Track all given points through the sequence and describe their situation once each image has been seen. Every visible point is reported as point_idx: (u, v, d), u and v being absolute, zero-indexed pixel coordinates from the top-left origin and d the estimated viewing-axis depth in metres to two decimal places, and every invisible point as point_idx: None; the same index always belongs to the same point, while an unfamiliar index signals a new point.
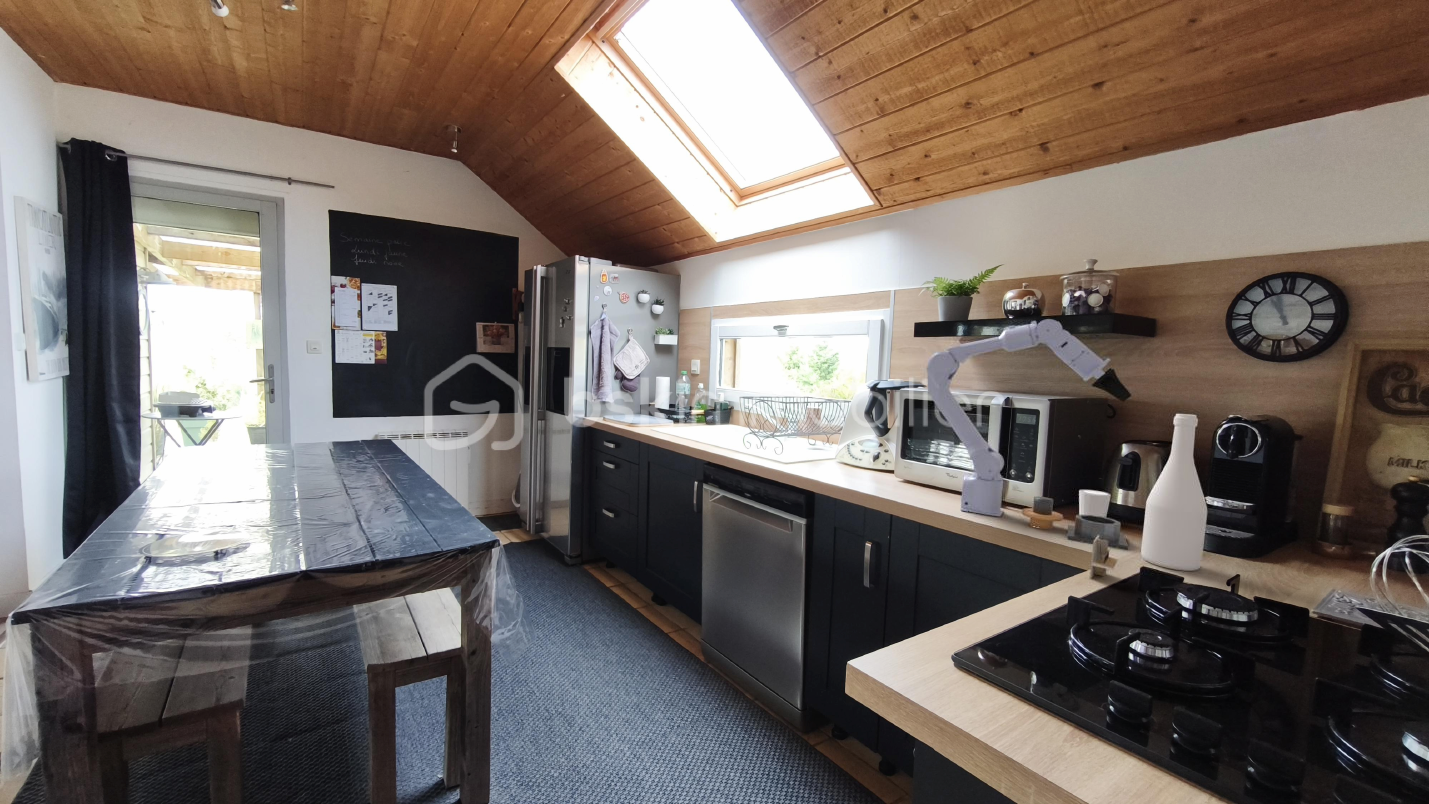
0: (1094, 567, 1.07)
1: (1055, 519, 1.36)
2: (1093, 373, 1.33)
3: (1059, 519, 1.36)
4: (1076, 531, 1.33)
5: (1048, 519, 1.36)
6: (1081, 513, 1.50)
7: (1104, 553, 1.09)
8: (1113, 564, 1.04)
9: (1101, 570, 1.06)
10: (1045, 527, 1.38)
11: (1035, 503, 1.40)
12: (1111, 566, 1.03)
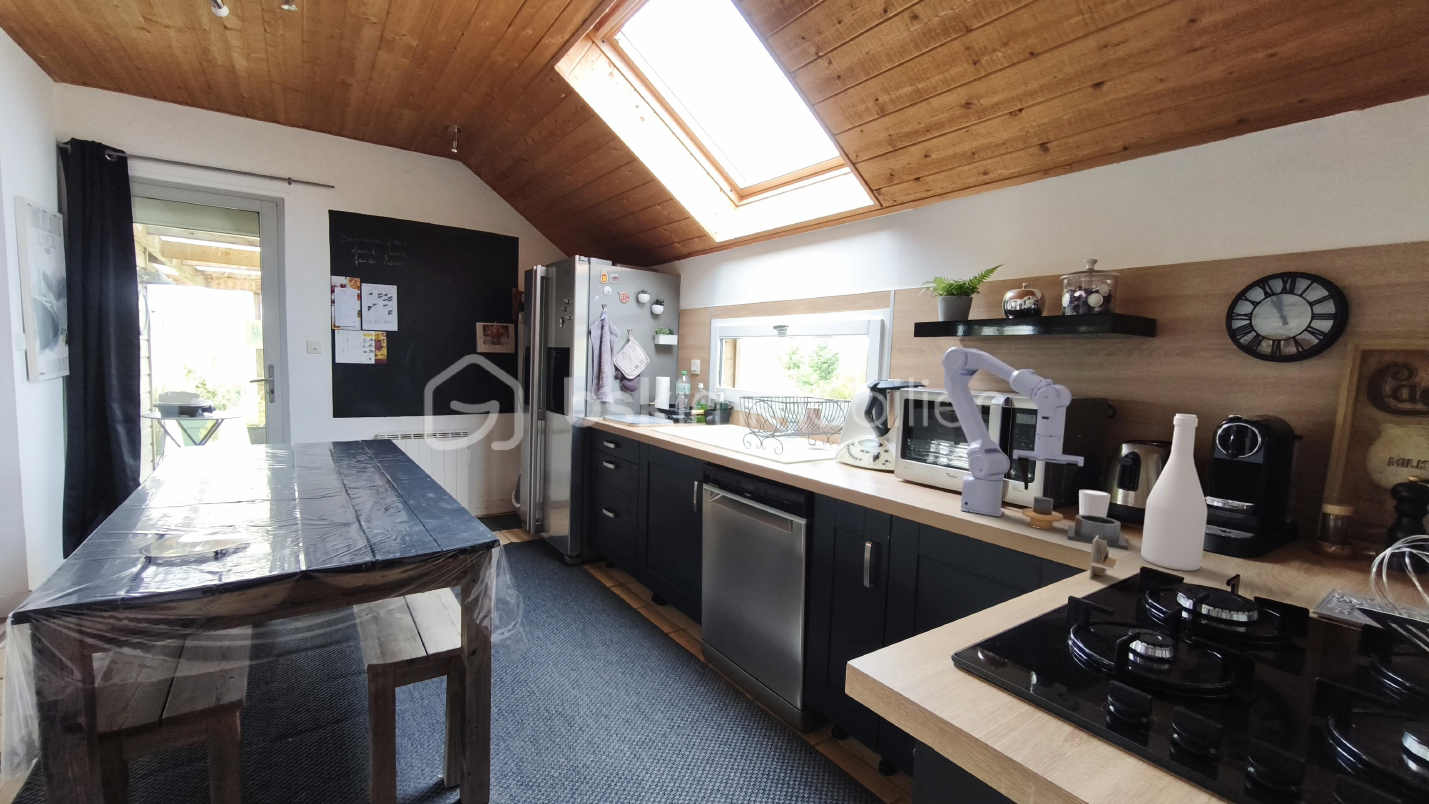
0: (1093, 567, 1.07)
1: (1055, 519, 1.36)
2: (1014, 451, 1.43)
3: (1059, 519, 1.36)
4: (1076, 531, 1.33)
5: (1048, 519, 1.36)
6: (1081, 513, 1.50)
7: (1103, 553, 1.09)
8: (1112, 564, 1.04)
9: (1100, 570, 1.06)
10: (1045, 527, 1.38)
11: (1035, 503, 1.40)
12: (1110, 566, 1.03)
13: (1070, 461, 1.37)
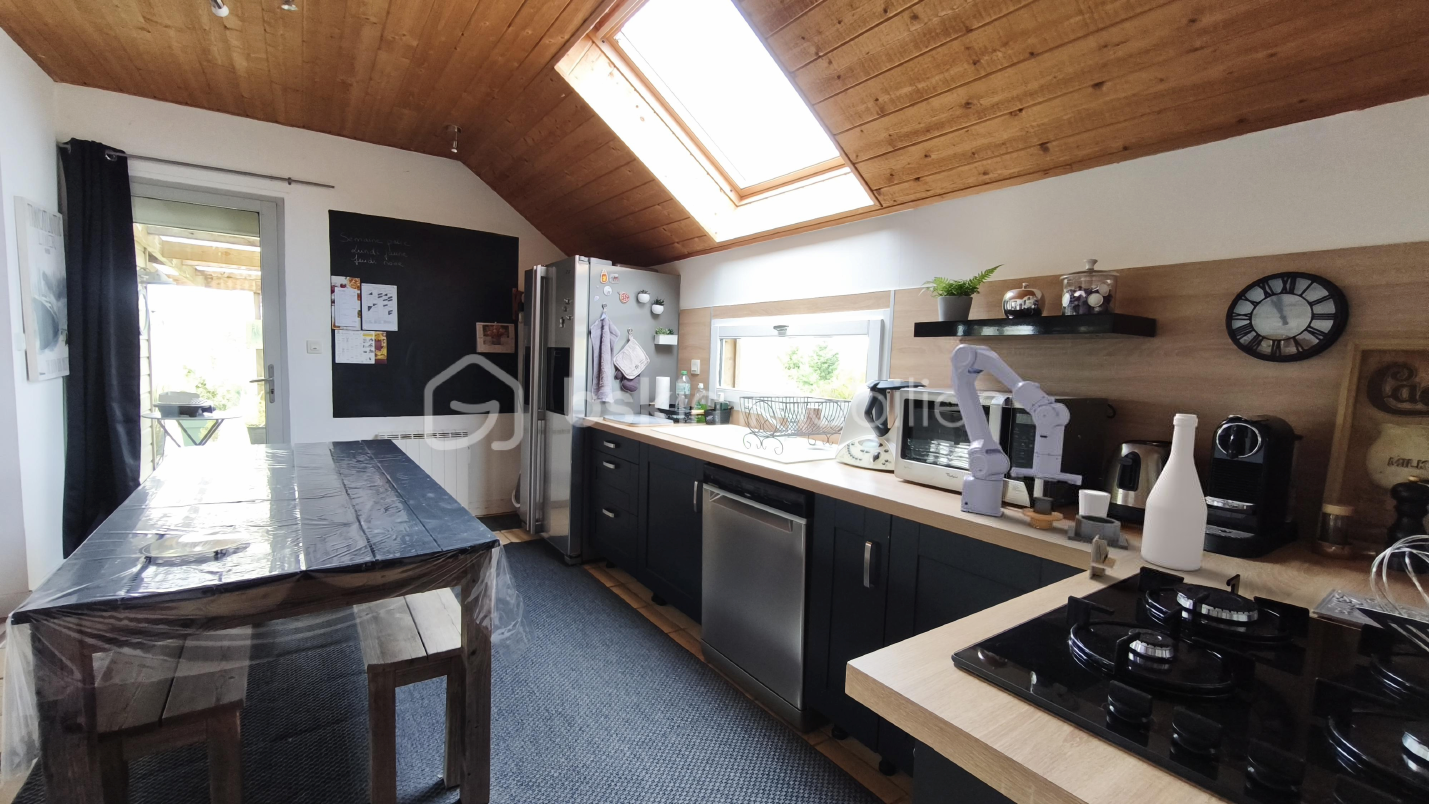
0: (1093, 567, 1.07)
1: (1055, 519, 1.36)
2: None
3: (1059, 519, 1.36)
4: (1076, 531, 1.33)
5: (1048, 519, 1.36)
6: (1081, 513, 1.50)
7: (1103, 553, 1.09)
8: (1112, 564, 1.04)
9: (1100, 570, 1.06)
10: (1045, 527, 1.38)
11: (1035, 503, 1.40)
12: (1110, 566, 1.03)
13: (1068, 480, 1.37)
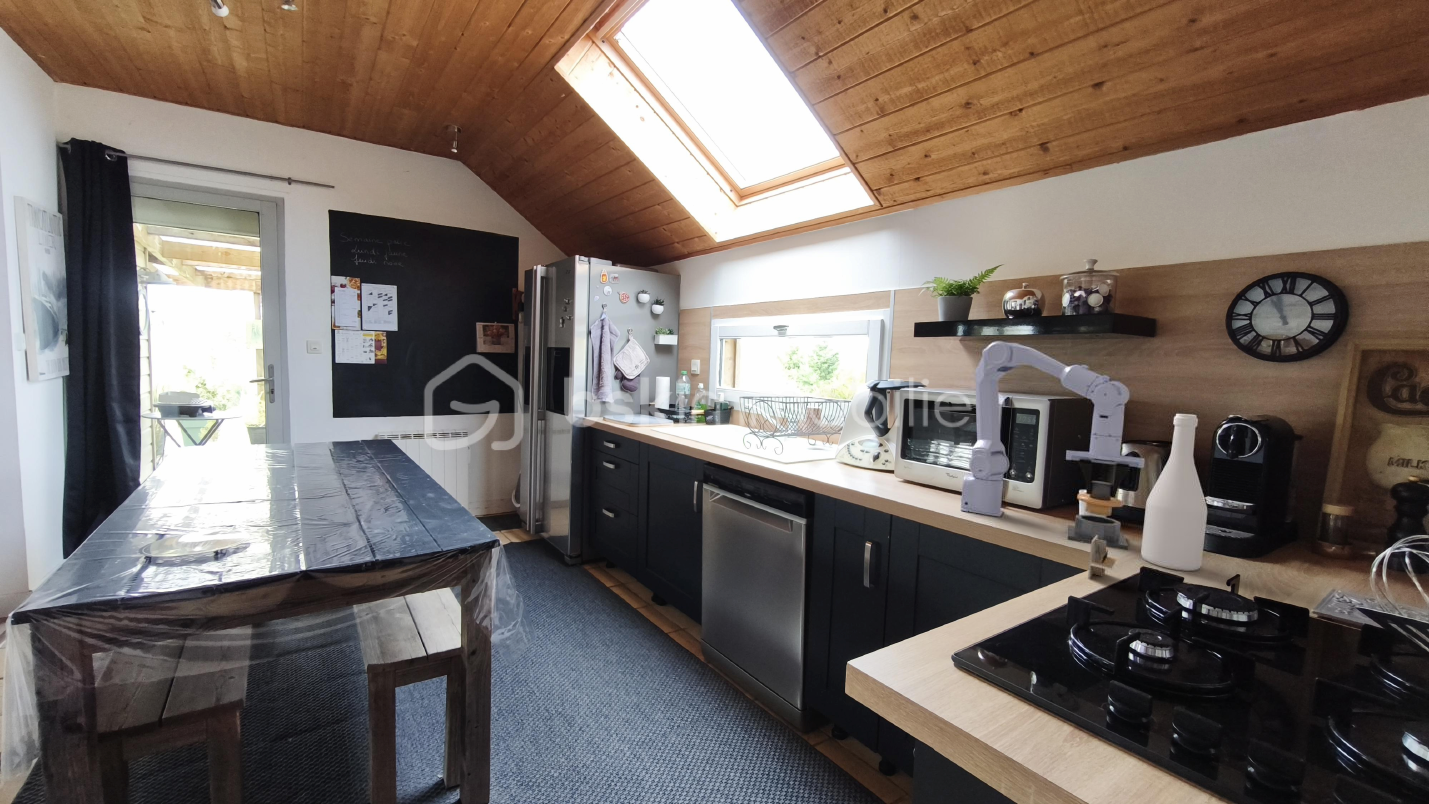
0: (1092, 567, 1.07)
1: (1116, 505, 1.27)
2: None
3: (1120, 505, 1.28)
4: (1076, 531, 1.33)
5: (1108, 505, 1.27)
6: (1081, 513, 1.50)
7: (1103, 553, 1.08)
8: (1111, 564, 1.04)
9: (1099, 570, 1.06)
10: (1104, 513, 1.29)
11: (1093, 488, 1.31)
12: (1109, 566, 1.03)
13: (1129, 463, 1.28)
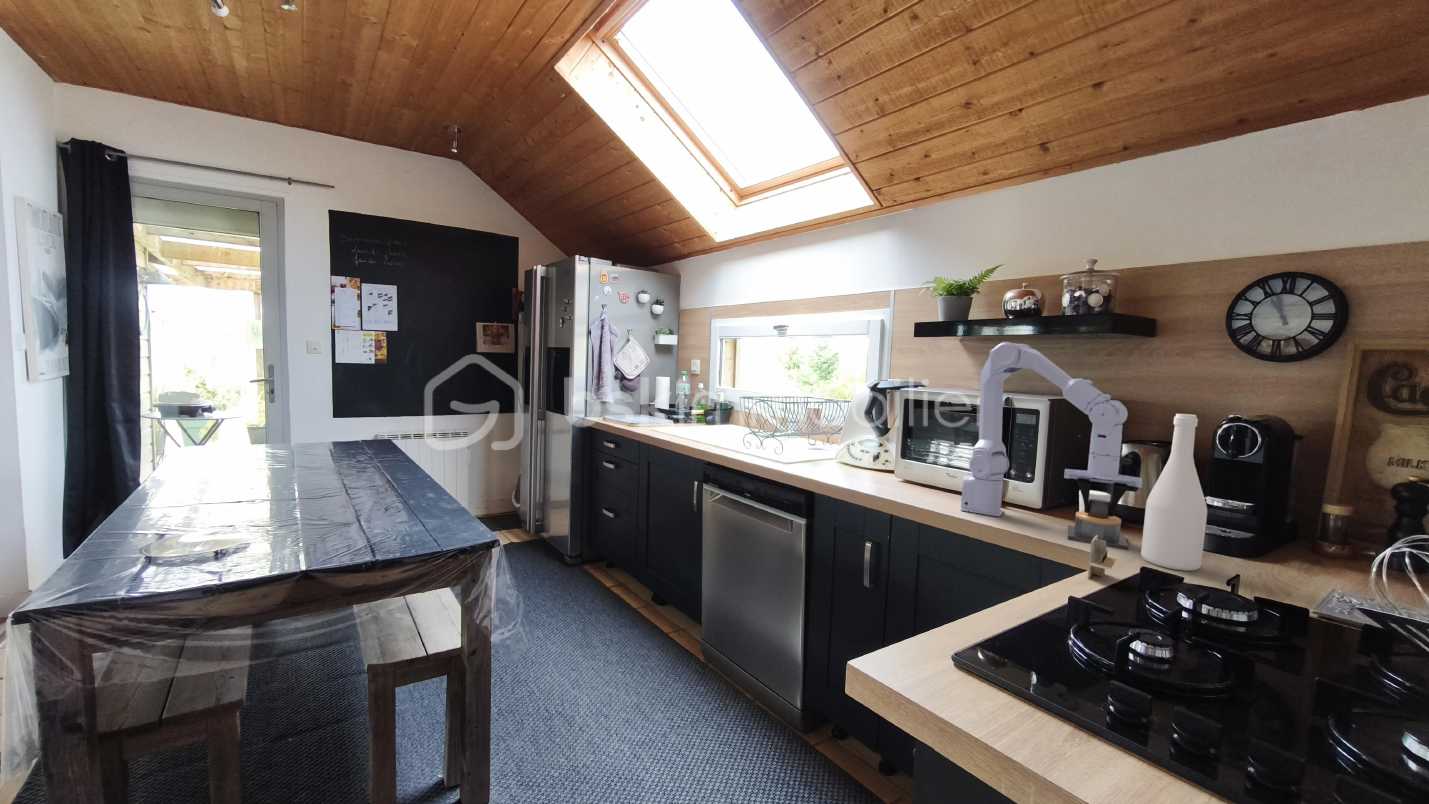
0: (1092, 567, 1.07)
1: (1114, 523, 1.28)
2: None
3: (1118, 523, 1.28)
4: (1076, 531, 1.33)
5: (1106, 523, 1.28)
6: None
7: (1102, 553, 1.08)
8: (1111, 564, 1.04)
9: (1099, 570, 1.06)
10: None
11: (1091, 506, 1.31)
12: (1109, 566, 1.03)
13: (1127, 482, 1.29)
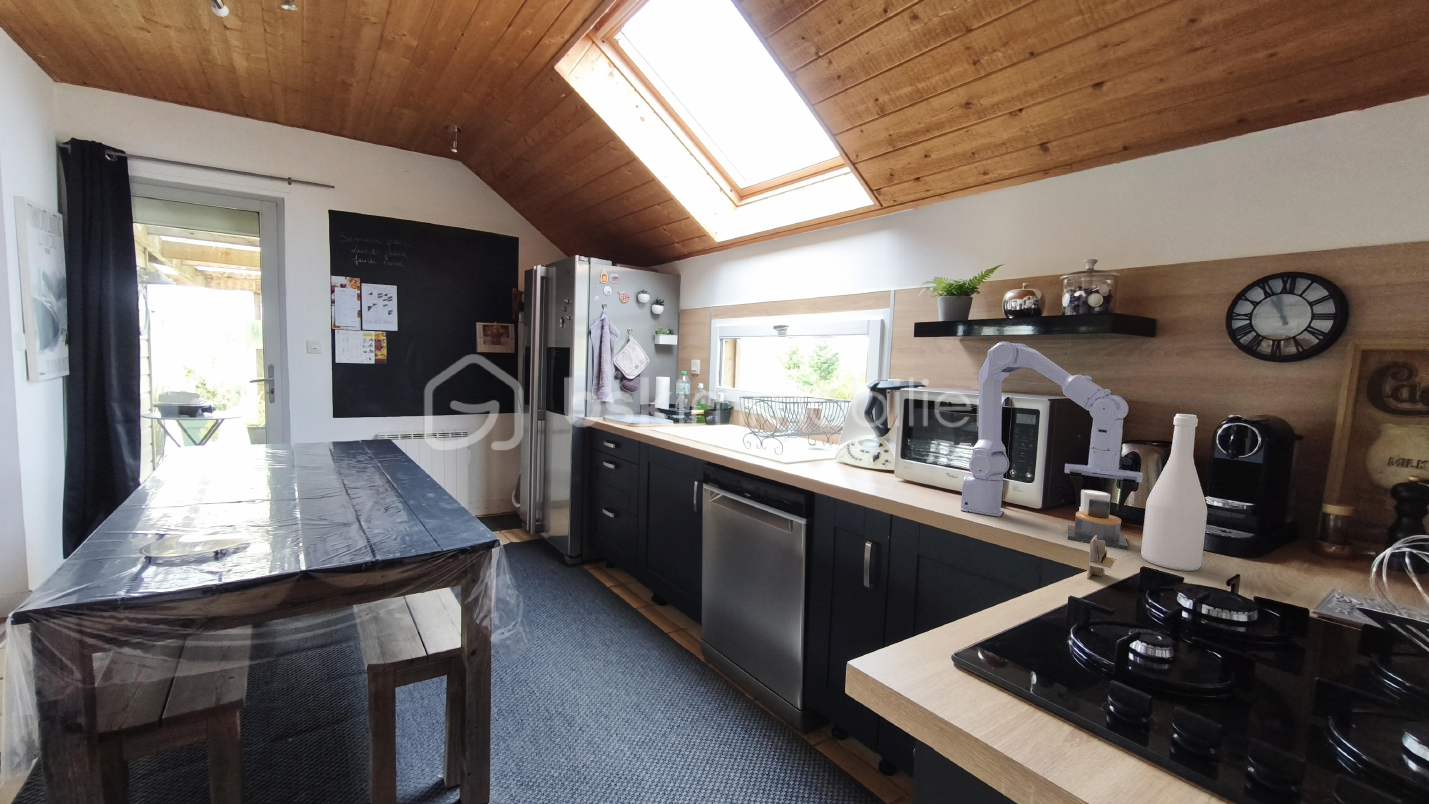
0: (1092, 567, 1.07)
1: (1114, 523, 1.28)
2: None
3: (1118, 523, 1.28)
4: (1076, 531, 1.33)
5: (1106, 523, 1.28)
6: None
7: (1102, 553, 1.08)
8: (1110, 564, 1.04)
9: (1099, 570, 1.06)
10: None
11: (1091, 506, 1.31)
12: (1108, 566, 1.03)
13: (1127, 477, 1.29)
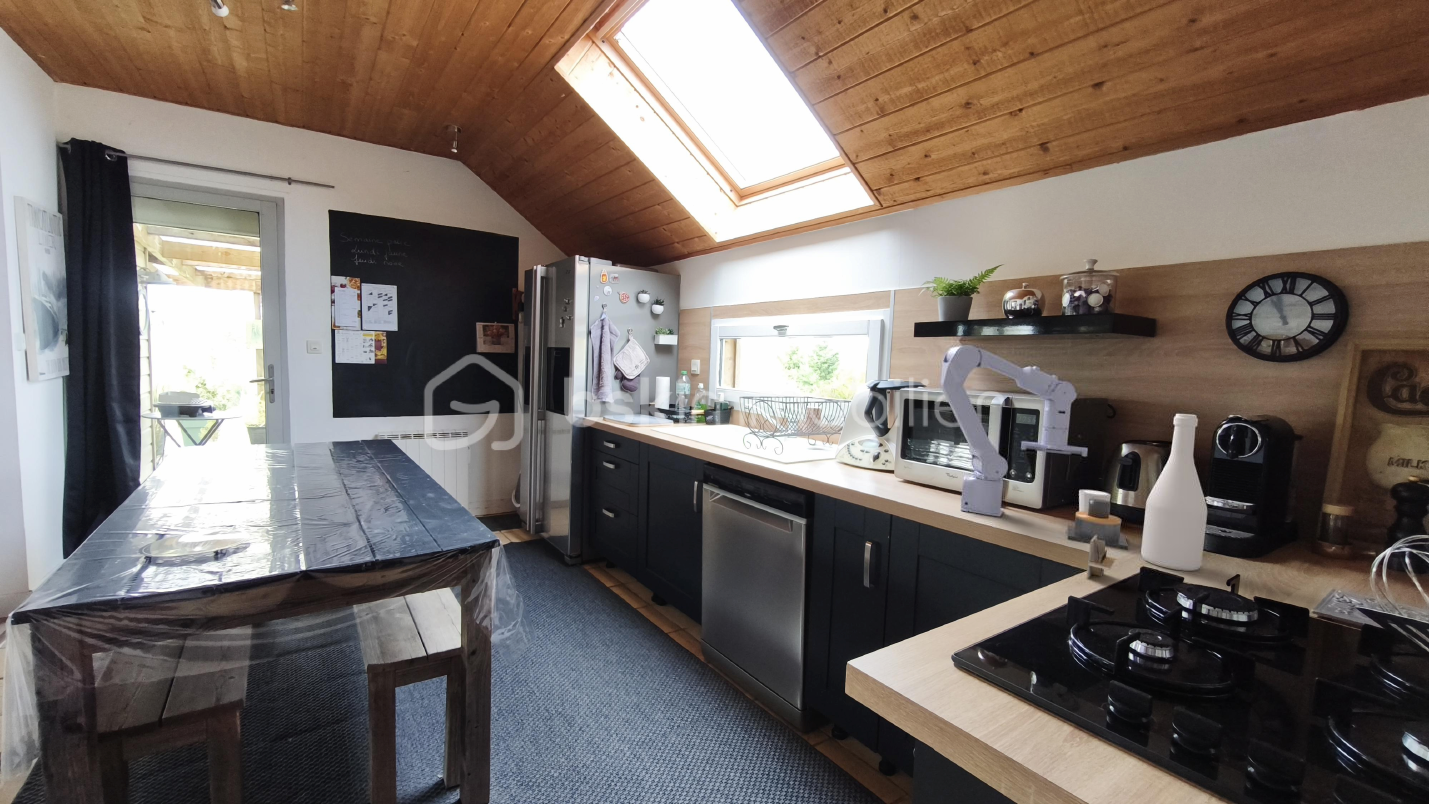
0: (1091, 567, 1.07)
1: (1114, 523, 1.28)
2: None
3: (1118, 523, 1.28)
4: (1076, 531, 1.33)
5: (1106, 523, 1.28)
6: None
7: (1101, 553, 1.08)
8: (1110, 564, 1.04)
9: (1098, 570, 1.06)
10: None
11: (1091, 506, 1.31)
12: (1108, 566, 1.03)
13: (1075, 452, 1.46)
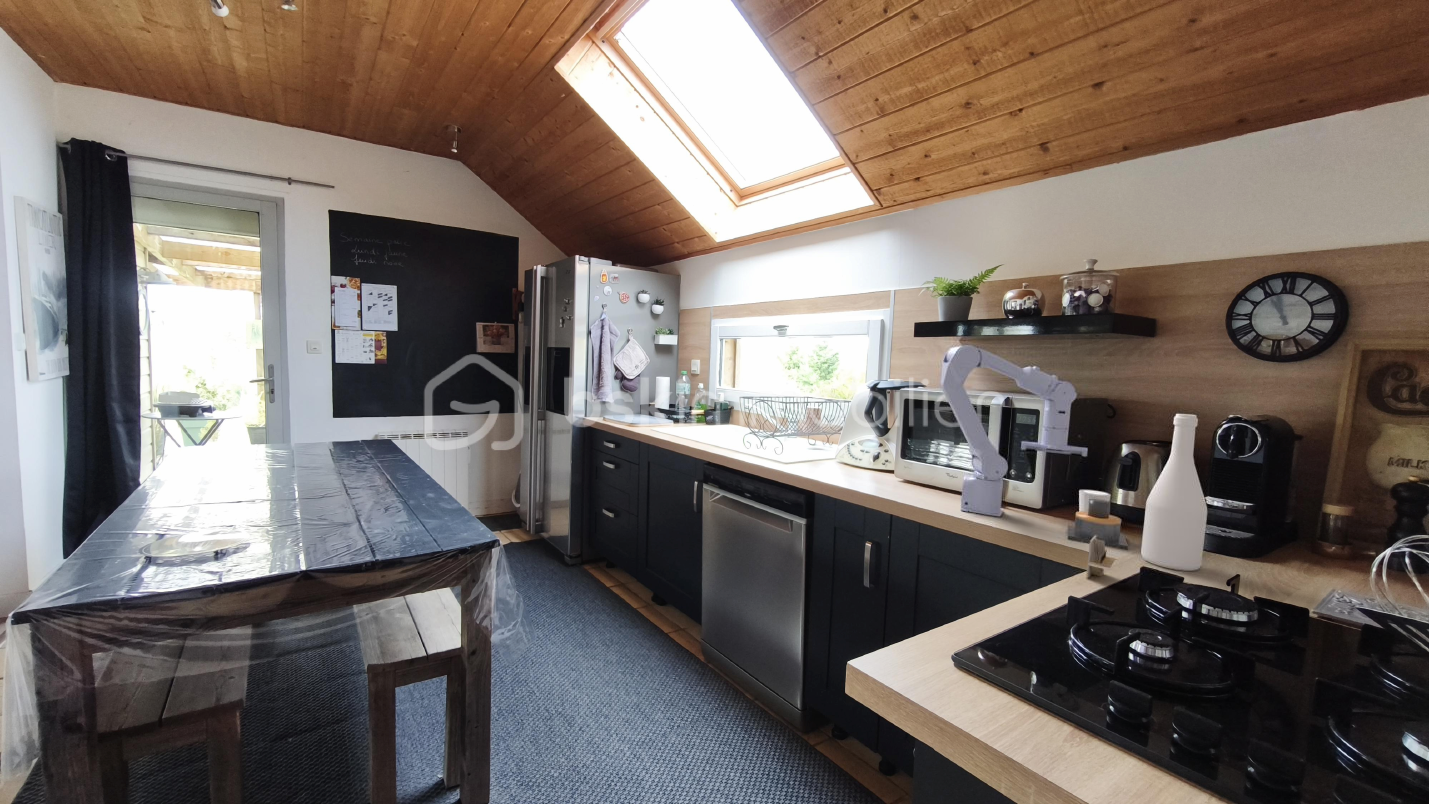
0: (1091, 567, 1.07)
1: (1114, 523, 1.28)
2: None
3: (1118, 523, 1.28)
4: (1076, 531, 1.33)
5: (1106, 523, 1.28)
6: None
7: (1101, 553, 1.08)
8: (1110, 564, 1.04)
9: (1098, 570, 1.06)
10: None
11: (1091, 506, 1.31)
12: (1108, 566, 1.03)
13: (1075, 452, 1.46)
